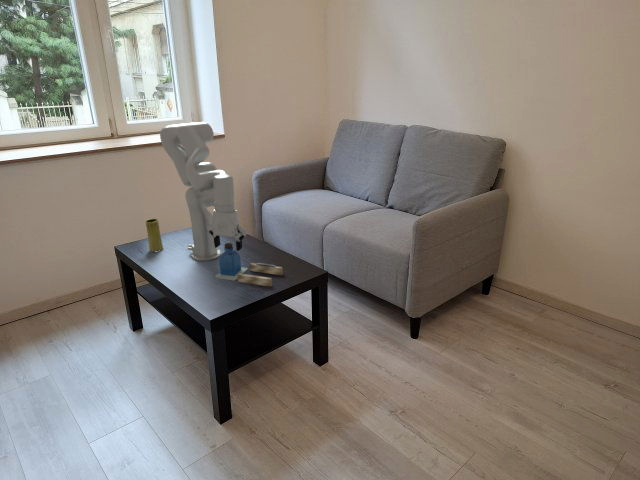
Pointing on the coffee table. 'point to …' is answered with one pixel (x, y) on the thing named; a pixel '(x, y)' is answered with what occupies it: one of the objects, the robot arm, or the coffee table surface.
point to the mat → (231, 276)
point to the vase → (154, 235)
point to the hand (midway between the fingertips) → (228, 247)
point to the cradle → (257, 279)
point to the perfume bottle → (229, 261)
